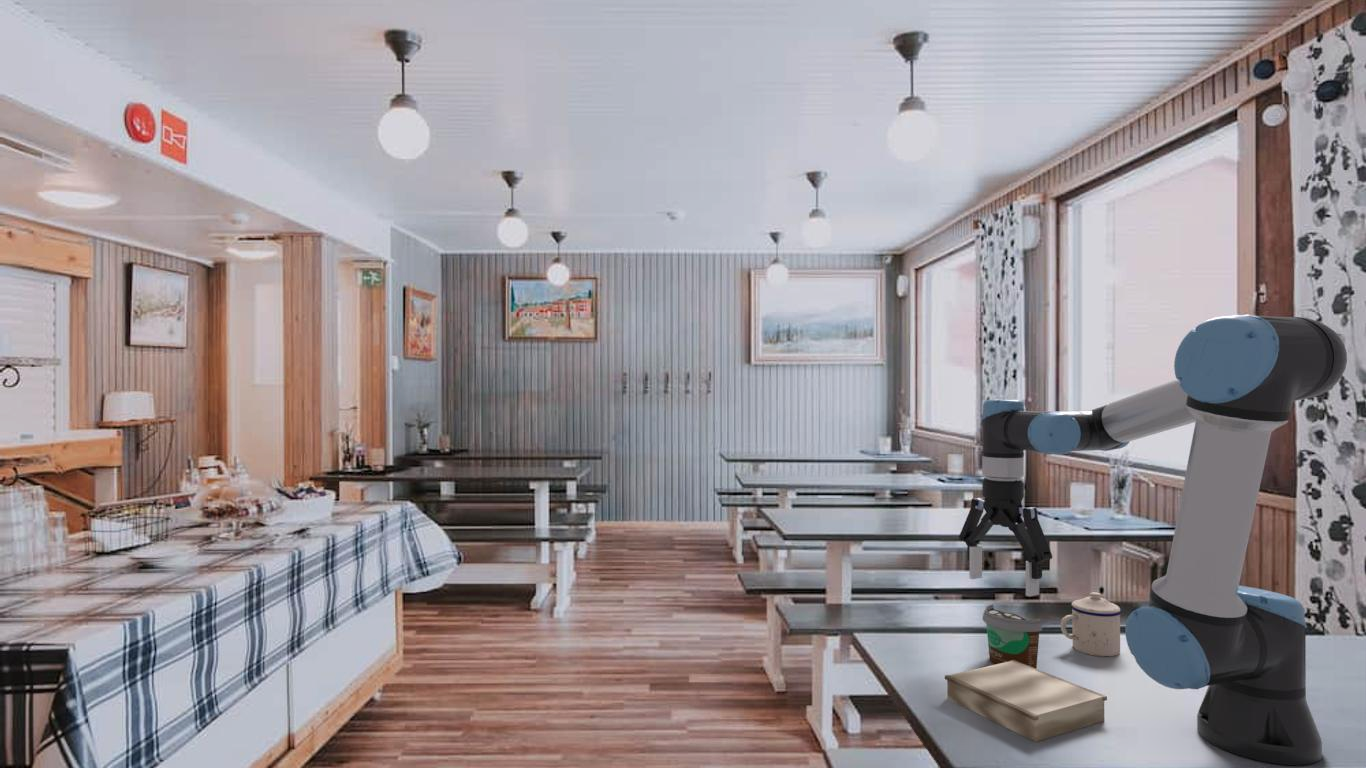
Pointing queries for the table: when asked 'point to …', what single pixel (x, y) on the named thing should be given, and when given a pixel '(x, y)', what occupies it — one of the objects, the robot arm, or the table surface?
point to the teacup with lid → (1094, 626)
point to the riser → (1026, 699)
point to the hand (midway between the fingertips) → (1003, 586)
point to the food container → (1011, 637)
